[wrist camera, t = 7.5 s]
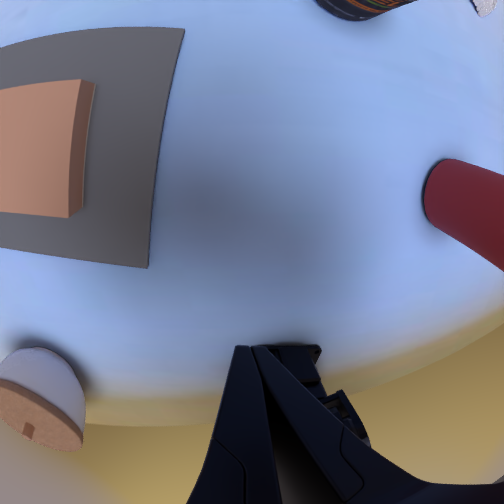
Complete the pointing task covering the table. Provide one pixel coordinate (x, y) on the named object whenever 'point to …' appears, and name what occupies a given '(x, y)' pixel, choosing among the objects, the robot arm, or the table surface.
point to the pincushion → (485, 6)
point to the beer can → (468, 207)
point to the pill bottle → (361, 7)
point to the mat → (101, 138)
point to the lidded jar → (42, 398)
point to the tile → (44, 147)
